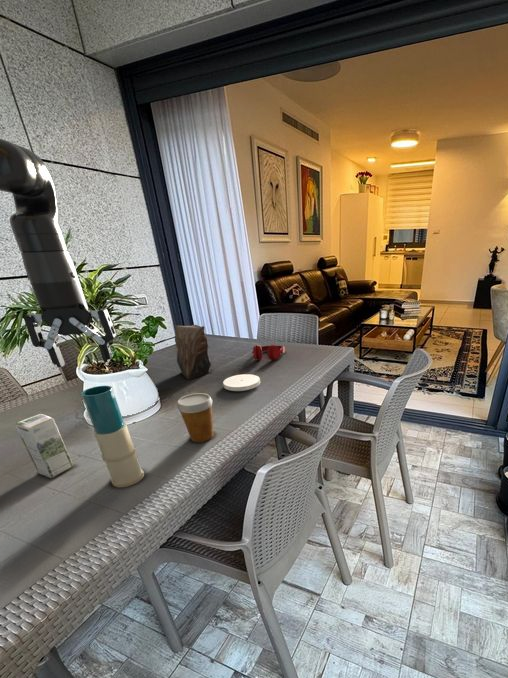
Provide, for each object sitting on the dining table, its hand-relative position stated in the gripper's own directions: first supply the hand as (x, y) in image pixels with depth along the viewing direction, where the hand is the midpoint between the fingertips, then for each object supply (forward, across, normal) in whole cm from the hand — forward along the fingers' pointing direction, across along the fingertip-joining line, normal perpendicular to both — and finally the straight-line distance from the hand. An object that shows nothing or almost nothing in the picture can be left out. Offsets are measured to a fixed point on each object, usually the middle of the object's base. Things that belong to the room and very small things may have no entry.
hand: (84, 363), depth 72 cm
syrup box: (+29, +18, -9) cm, 35 cm away
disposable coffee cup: (+29, -18, -15) cm, 37 cm away
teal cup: (+15, -1, +1) cm, 15 cm away
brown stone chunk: (+29, -13, -74) cm, 81 cm away
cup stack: (+29, -1, +1) cm, 29 cm away
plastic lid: (+29, -32, -52) cm, 67 cm away
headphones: (+28, -47, -89) cm, 105 cm away
